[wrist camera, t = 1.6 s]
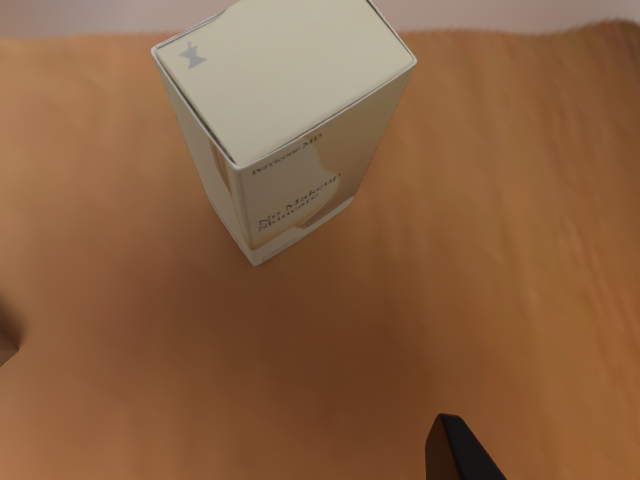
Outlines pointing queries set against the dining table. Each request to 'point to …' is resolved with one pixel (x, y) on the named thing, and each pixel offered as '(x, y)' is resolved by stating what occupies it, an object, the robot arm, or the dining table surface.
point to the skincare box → (284, 110)
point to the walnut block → (6, 349)
